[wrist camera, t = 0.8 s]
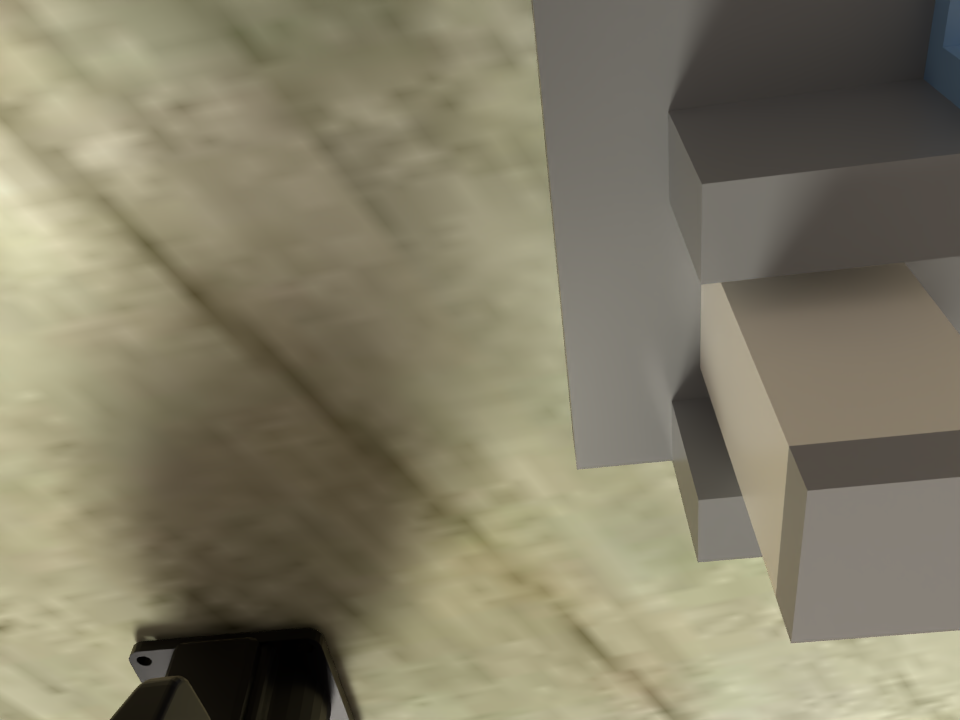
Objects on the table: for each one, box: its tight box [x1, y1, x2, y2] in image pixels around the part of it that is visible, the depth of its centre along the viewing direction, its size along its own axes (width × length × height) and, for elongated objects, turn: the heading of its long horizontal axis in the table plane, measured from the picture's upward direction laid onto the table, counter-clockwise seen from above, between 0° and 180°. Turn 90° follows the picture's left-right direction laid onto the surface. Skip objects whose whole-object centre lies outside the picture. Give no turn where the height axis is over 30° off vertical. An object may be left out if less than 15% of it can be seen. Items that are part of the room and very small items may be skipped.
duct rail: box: [532, 0, 960, 562], centre depth 17 cm, size 17×10×5 cm, turn 8°
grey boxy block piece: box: [700, 262, 960, 643], centre depth 17 cm, size 4×4×8 cm
